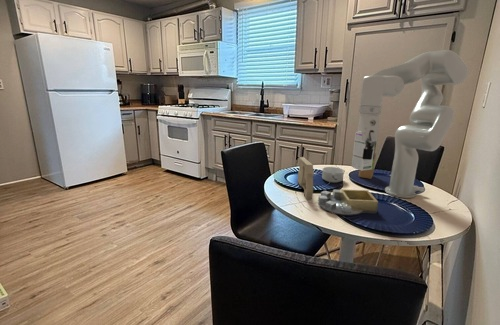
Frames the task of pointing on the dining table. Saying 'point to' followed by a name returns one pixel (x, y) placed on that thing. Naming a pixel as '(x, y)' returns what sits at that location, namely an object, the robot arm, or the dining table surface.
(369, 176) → the decorative item
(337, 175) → the saucepan
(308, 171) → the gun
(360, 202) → the beige and grey tray
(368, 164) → the syrup box
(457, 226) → the dining table surface
